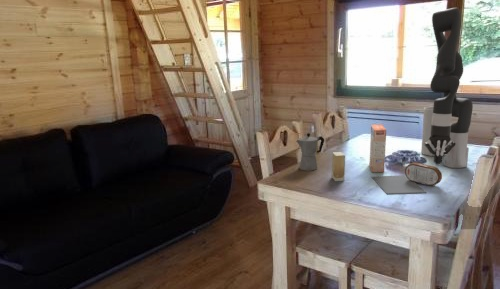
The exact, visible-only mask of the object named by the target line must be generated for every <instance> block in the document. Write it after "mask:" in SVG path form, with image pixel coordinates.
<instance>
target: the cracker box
mask: <svg viewBox="0 0 500 289" xmlns="http://www.w3.org/2000/svg"><path fill="white" fill-rule="evenodd" d="M386 141H387V129H386V128H385V126H384V124H371V125H370V145H369V147H370V148H369V167H370V169H371V172H372V173H385V163H386V162H385V160H386V144H387V143H386Z"/></svg>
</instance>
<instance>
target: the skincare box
mask: <svg viewBox="0 0 500 289" xmlns="http://www.w3.org/2000/svg"><path fill="white" fill-rule="evenodd" d="M331 153H332V154H331V157H332V158H331V178H332V179H333V180H334V181H335V182H344V181H345V174H346V173H345V172H346V171H345V170H346V155H345V153H343V152H342V151H333V152H331Z"/></svg>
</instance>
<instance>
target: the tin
mask: <svg viewBox="0 0 500 289" xmlns="http://www.w3.org/2000/svg"><path fill="white" fill-rule="evenodd" d="M404 175H406V177H407V178H408V179H409V180H410V181H413V182H415V183H416V184H420V185H421V184H422V185H426V186H428V187H429V186H430V187H432V186H433V187H434V186H435V185H439V183H440V182H441V181H442V177H443V175H442V171H441V170H440V169H439V168H438V167H436V166H434V165H429V164H424V163H422V162H414V161H413V162H411V163H409V164H408V165H407V166H406V167H405V170H404Z"/></svg>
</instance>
